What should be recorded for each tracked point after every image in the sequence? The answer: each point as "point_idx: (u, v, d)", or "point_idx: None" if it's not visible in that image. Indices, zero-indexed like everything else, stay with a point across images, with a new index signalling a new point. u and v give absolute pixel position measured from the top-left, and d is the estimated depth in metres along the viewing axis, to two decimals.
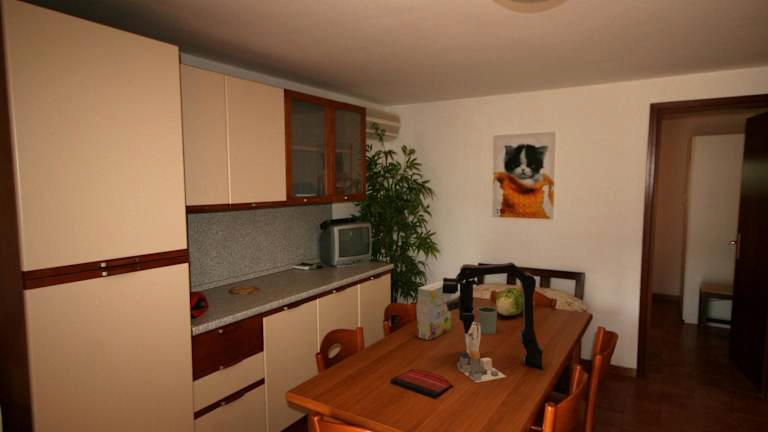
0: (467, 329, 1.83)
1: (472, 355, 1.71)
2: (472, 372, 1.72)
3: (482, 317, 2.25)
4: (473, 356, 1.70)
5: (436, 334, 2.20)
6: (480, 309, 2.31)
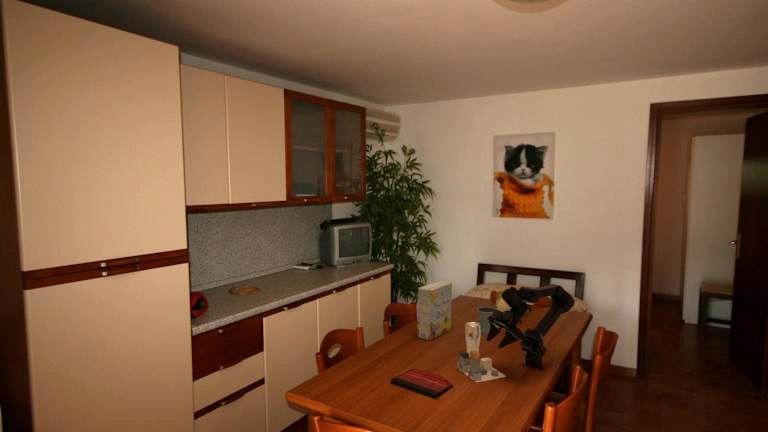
0: (503, 345, 1.71)
1: (472, 355, 1.71)
2: (472, 372, 1.72)
3: (482, 317, 2.25)
4: (473, 356, 1.70)
5: (436, 334, 2.20)
6: (480, 309, 2.31)
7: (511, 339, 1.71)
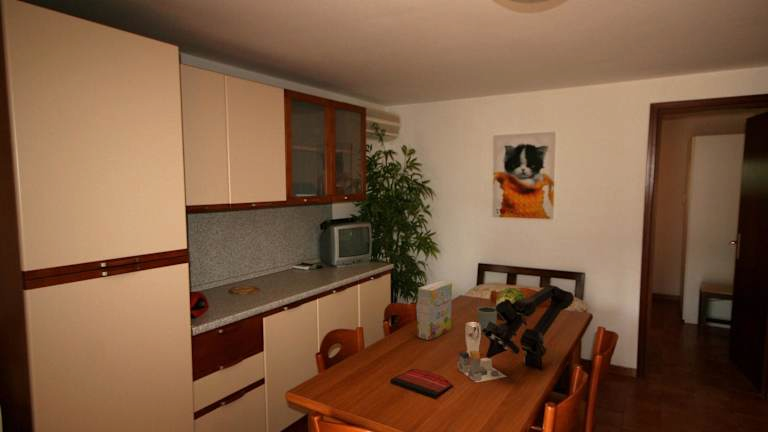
0: (492, 354, 1.73)
1: (472, 355, 1.71)
2: (472, 372, 1.72)
3: (482, 317, 2.25)
4: (473, 356, 1.70)
5: (436, 334, 2.20)
6: (480, 309, 2.31)
7: (499, 349, 1.73)
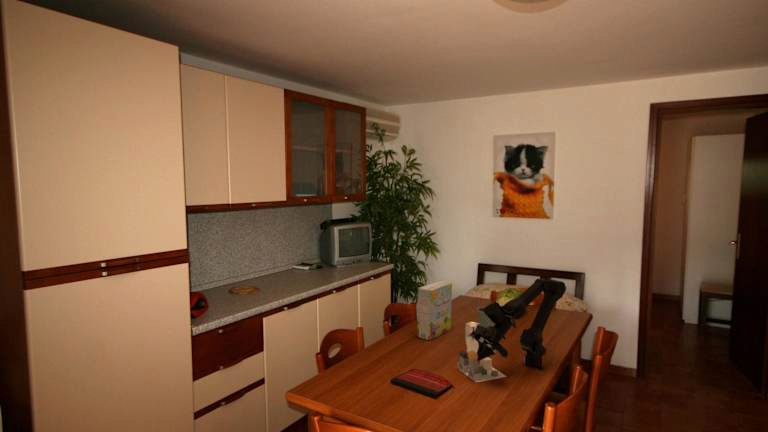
0: (480, 358, 1.71)
1: (470, 356, 1.71)
2: (472, 372, 1.72)
3: (482, 317, 2.25)
4: (471, 357, 1.70)
5: (436, 334, 2.20)
6: (480, 309, 2.31)
7: (488, 352, 1.72)
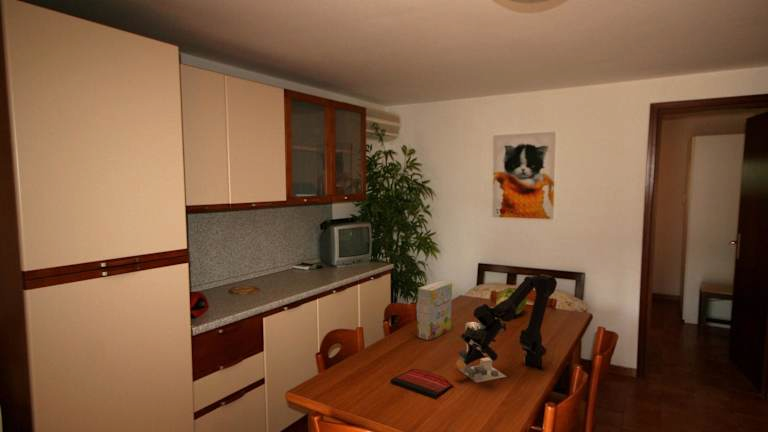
0: (470, 361, 1.70)
1: None
2: None
3: None
4: None
5: (436, 334, 2.20)
6: None
7: (478, 355, 1.70)
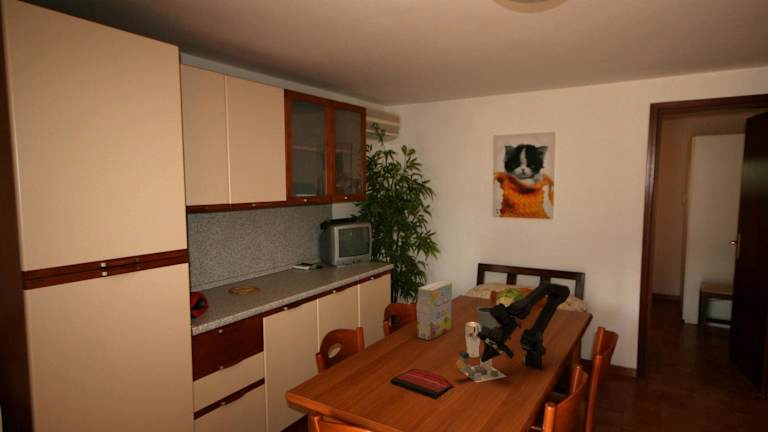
0: (487, 359, 1.73)
1: None
2: None
3: (482, 317, 2.25)
4: None
5: (436, 334, 2.20)
6: (480, 309, 2.31)
7: (494, 353, 1.73)
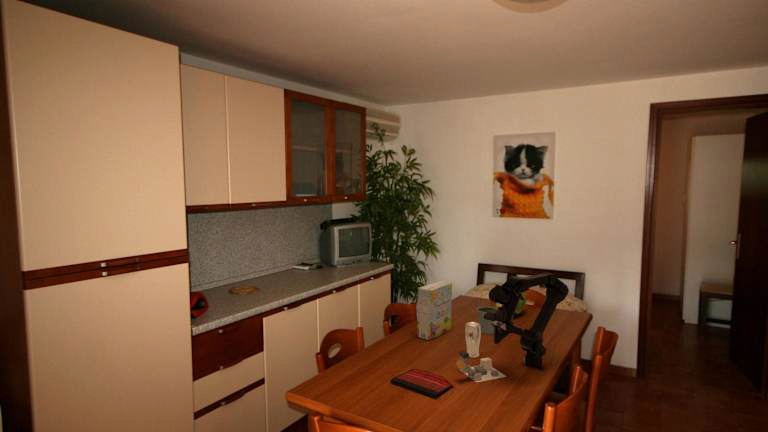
0: (499, 340, 1.75)
1: None
2: None
3: (482, 317, 2.25)
4: None
5: (436, 334, 2.20)
6: (480, 309, 2.31)
7: (505, 332, 1.74)
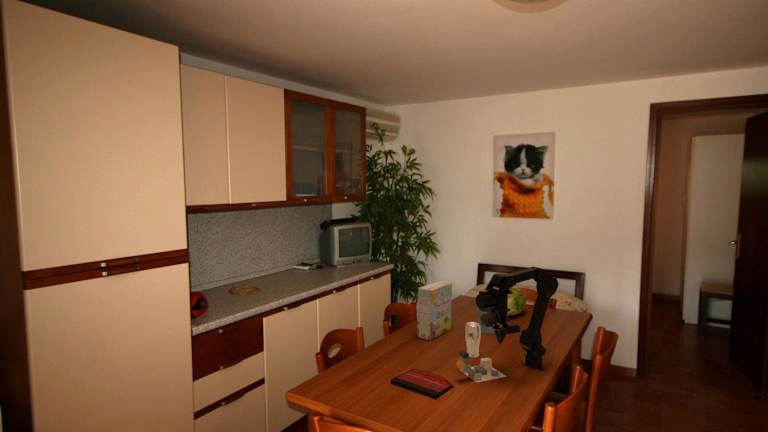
0: (502, 339, 1.76)
1: None
2: None
3: None
4: None
5: (436, 334, 2.20)
6: (480, 309, 2.31)
7: None
